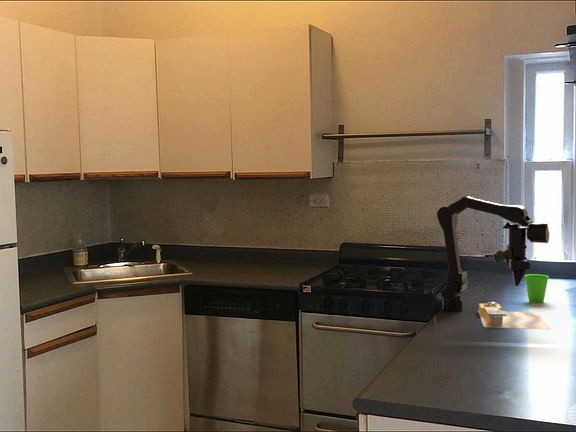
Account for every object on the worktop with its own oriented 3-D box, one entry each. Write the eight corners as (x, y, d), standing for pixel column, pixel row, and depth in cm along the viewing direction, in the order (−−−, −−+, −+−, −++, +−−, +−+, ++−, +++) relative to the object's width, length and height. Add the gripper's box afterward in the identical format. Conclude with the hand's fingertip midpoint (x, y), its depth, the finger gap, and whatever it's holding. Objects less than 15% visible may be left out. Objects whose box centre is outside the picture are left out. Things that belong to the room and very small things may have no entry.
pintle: (487, 314, 249) (488, 303, 249) (487, 312, 252) (487, 301, 252) (496, 314, 249) (496, 303, 248) (495, 312, 252) (495, 301, 251)
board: (483, 329, 231) (483, 326, 231) (478, 313, 255) (478, 310, 255) (550, 332, 227) (550, 329, 227) (537, 315, 251) (538, 312, 251)
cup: (533, 307, 265) (533, 278, 264) (519, 302, 274) (519, 274, 273) (553, 305, 268) (554, 277, 267) (539, 300, 276) (539, 273, 276)
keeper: (506, 326, 231) (507, 315, 230) (488, 326, 232) (488, 314, 231) (504, 321, 238) (504, 310, 237) (486, 321, 239) (486, 310, 238)
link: (506, 324, 234) (506, 315, 234) (485, 323, 235) (485, 315, 235) (498, 312, 253) (498, 304, 252) (478, 311, 254) (479, 303, 254)
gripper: (490, 238, 254) (490, 280, 255) (496, 244, 236) (495, 290, 237) (522, 238, 252) (522, 281, 253) (530, 245, 234) (529, 290, 235)
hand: (516, 285), depth 245 cm, fingers closed
